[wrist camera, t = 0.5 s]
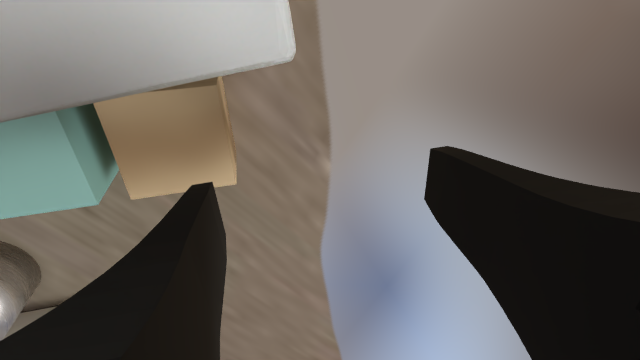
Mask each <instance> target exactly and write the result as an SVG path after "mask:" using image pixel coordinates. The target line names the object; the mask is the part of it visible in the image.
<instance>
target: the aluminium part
mask: <svg viewBox="0 0 640 360" xmlns="http://www.w3.org/2000/svg"><path fill="white" fill-rule="evenodd" d="M40 280H41V270H40V267H39V265H38V264H37V262H36V261H35V260H34V259H33V258H32V257H31V256H30V255H29V254H28V253H27V252H25V251H23V250H22V249H20V248H18V247H16V246H13V245H11V244H8V243H5V242H1V241H0V341H1V340H3V339H4V337H5V336H6V334H7V333H8V331H9V329H10V328H11V326H12V325H13V323H14V322H15V320H16V319H17V317H18V316H19V314H20V312H21V311H22V309H23V308H24V306H25V305H26V303H27V302H28V300H29V298H30V297H31V295H32V294H33V292H34V291H35V289H36V288H37V286H38V284H39V283H40Z"/></svg>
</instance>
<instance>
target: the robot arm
mask: <svg viewBox="0 0 640 360" xmlns="http://www.w3.org/2000/svg"><path fill="white" fill-rule="evenodd" d="M424 199H425V201H426V203H427V205H428V207H429V208H430V210H431V212H432V214H433V215H434V217H435V219H436V220H437V222H438V223H439V224H440V226H441V227H442V228H443V230H444V231H445V232H446V233H447V235H448V236H449V237H450V238H451V240H452V241H453V242H454V243H455V244H456V246H457V247H458V248H459V249H460V251H461V252H462V253H463V254H464V256H465V257H466V258H467V259H468V260H469V262H470V263H471V264H472V265H473V266H474V268H475V269H476V270H477V272H478V273H479V274H480V276H481V277H482V278H483V279H484V281H485V282H486V284H487V285H488V287H489V288H490V290H491V292H492V293H493V295H494V296H495V298H496V299H497V301H498V302H499V304H500V306H501V307H502V308H503V310H504V312H505V314H506V315H507V317H508V319H509V320H510V322H511V324H512V325H513V327H514V329H515V330H516V332H517V334H518V335H519V337H520V339H521V341H522V343H523V344H524V346H525V348H526V350H527V352H528V353H529V355H530V357H531V359H532V360H640V193H637V192H630V191H623V190H617V189H610V188H604V187H598V186H592V185H587V184H582V183H578V182H573V181H569V180H564V179H559V178H555V177H551V176H547V175H544V174H540V173H536V172H533V171H529V170H526V169H522V168H519V167H516V166H513V165H509V164H506V163H503V162H500V161H497V160H494V159H491V158H488V157H484V156H482V155H478V154H475V153H472V152H469V151H466V150H462V149H458V148H454V147H449V146H445V147H439V148H432V149H430V157H429V165H428V174H427V182H426V189H425V198H424ZM226 263H227V256H226V233H225V229H224V226H223V222H222V218H221V214H220V210H219V206H218V202H217V198H216V194H215V190H214V186H213V182H207V183H201V184H194V185H191V186H190V187H189V189H188V190H187V191H186V192H185V193H184V195H183V196H182V197H181V198H180V199H179V201H178V202H177V203H176V204H175V205H174V206H173V208H172V209H171V210H170V211H169V212H168V213H167V214H166V216H165V217H164V218H163V219H162V220H161V221H160V222H159V223H158V224H157V225H156V226H155V227H154V228H153V229H152V230H151V231H150V232H149V234H148V235H147V236H146V237H145V238H144V239H143V240H142V241H141V242H140V243H139V244H138V245H137V246H135V247H134V248H133V249H132V250H131V251H130V252H129V253H128V254H127V255H125V256H124V257H123V258H122V259H121V260H120V261H118V262H117V263H116V264H115V265H114V266H112V267H111V268H110V269H109V270H107V271H106V272H105V273H104V274H102V275H101V276H100V277H98V278H97V279H95V280H94V281H93V282H91V283H90V284H88V285H87V286H86V287H84V288H83V289H82V290H80V291H79V292H77V293H76V294H75V295H73V296H72V297H71V298H69V299H68V300H66V301H65V302H63V303H62V304H60V305H59V306H57V307H55V308H54V309H52V310H51V311H49V312H48V313H46V314H45V315H43V316H41V317H40V318H38V319H36V320H35V321H33V322H32V323H30V324H28V325H27V326H25V327H23V328H22V329H20V330H18V331H17V332H15V333H13V334H11V335H10V336H8V337H6V338H5V339H3V340H1V341H0V360H220V326H221V315H222V305H223V295H224V285H225V274H226Z"/></svg>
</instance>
